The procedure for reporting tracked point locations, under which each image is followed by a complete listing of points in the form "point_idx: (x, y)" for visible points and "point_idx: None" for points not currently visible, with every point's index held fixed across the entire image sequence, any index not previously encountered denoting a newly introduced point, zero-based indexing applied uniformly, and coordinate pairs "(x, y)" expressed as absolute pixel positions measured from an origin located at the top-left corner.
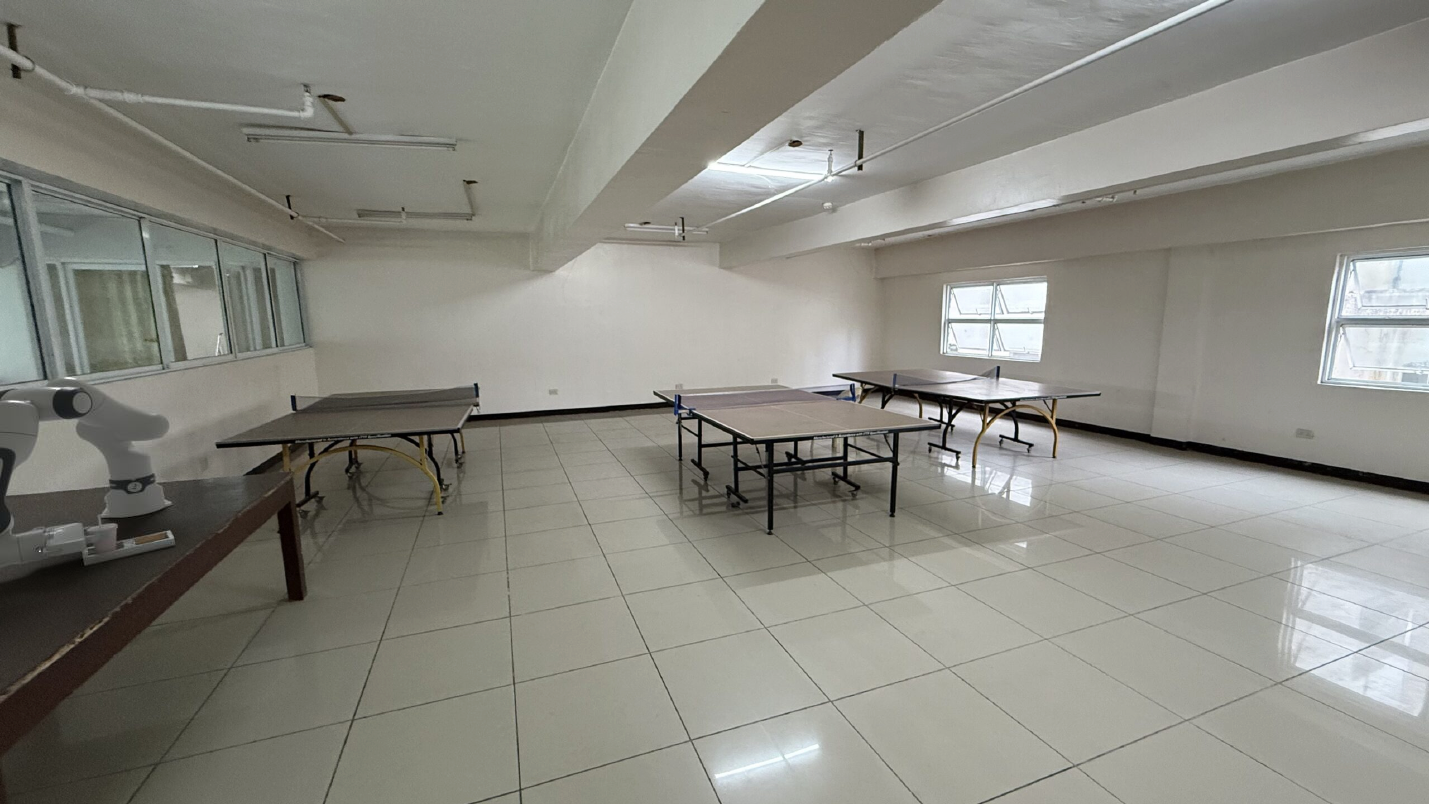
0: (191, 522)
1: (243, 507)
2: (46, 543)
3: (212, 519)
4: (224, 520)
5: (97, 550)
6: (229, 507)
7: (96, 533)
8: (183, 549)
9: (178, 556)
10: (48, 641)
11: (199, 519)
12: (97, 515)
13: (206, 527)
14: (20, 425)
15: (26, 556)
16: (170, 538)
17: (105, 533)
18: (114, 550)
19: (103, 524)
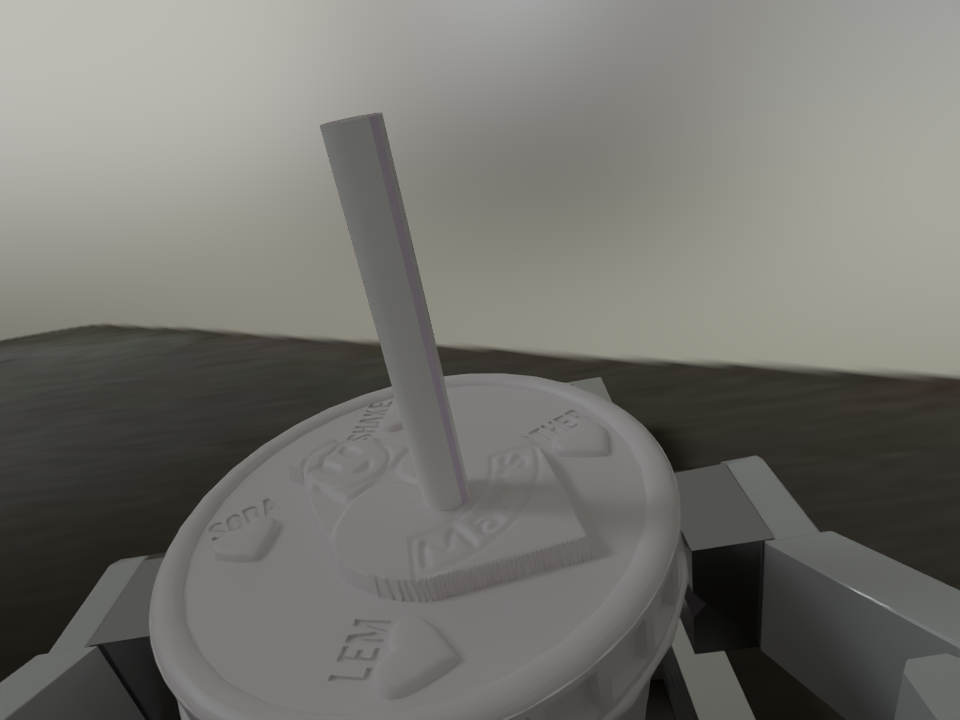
0: (155, 433)
1: (174, 332)
2: None
3: (224, 378)
4: (306, 347)
5: None
6: (99, 362)
7: (683, 596)
8: (752, 390)
9: (921, 387)
10: None
11: (144, 415)
12: (371, 133)
13: (352, 376)
14: None
15: None
16: (597, 388)
17: (772, 475)
18: (711, 696)
19: (206, 510)
